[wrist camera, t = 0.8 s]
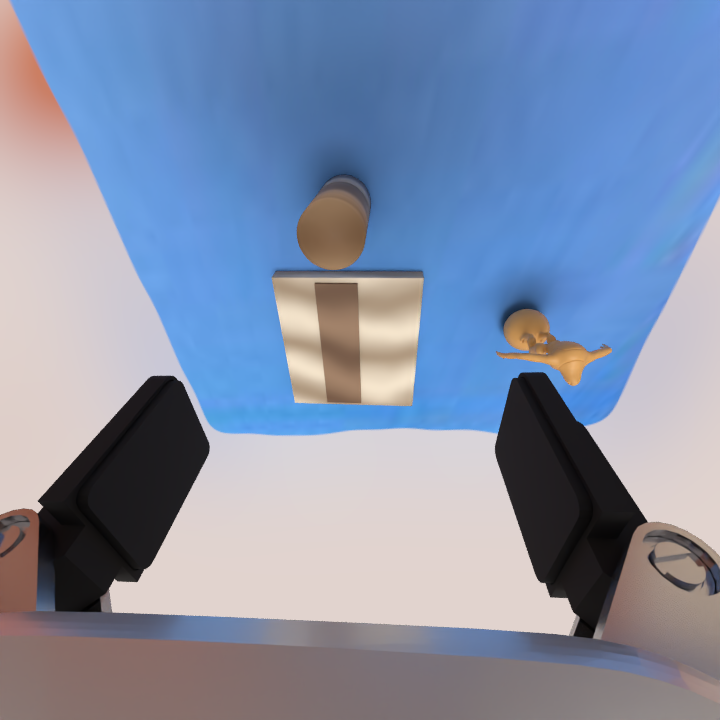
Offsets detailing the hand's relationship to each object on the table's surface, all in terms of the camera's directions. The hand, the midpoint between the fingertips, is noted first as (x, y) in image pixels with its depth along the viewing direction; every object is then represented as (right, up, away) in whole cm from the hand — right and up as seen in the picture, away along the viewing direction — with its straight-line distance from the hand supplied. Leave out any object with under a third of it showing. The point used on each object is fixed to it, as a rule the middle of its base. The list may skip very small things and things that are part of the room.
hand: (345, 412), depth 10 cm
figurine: (+16, +7, +24) cm, 30 cm away
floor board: (0, +4, +28) cm, 28 cm away
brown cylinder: (-1, +15, +19) cm, 24 cm away
